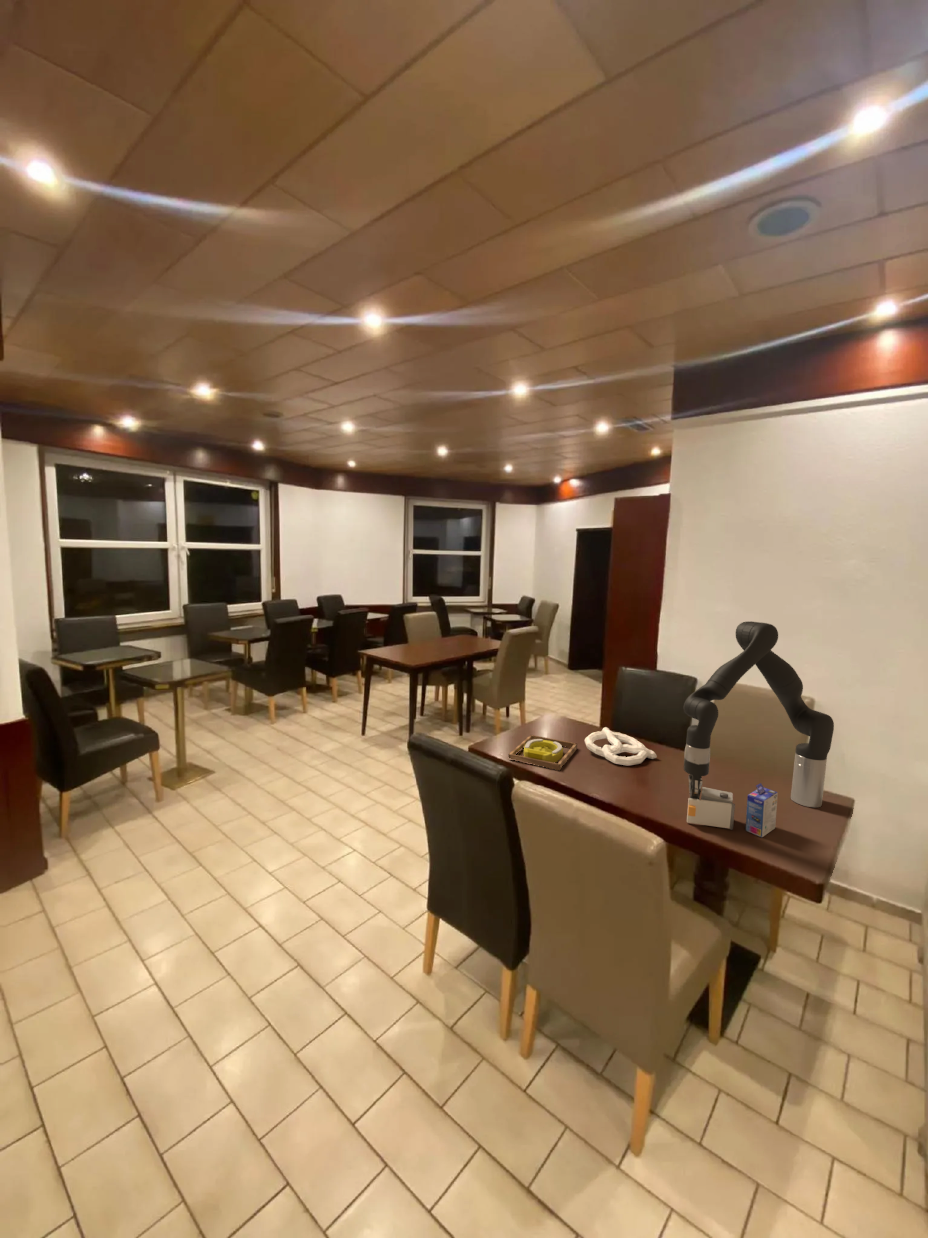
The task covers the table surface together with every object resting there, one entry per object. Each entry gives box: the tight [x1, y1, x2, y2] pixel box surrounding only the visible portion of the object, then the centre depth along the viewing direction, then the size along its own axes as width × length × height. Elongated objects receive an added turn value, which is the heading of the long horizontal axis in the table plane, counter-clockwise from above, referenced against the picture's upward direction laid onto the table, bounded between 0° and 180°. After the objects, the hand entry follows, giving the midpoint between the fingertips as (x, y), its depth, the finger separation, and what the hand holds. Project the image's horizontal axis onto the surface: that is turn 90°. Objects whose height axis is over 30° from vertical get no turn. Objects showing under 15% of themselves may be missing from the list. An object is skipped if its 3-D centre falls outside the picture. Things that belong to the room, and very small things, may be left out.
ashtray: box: [523, 739, 564, 763], centre depth 219 cm, size 16×21×5 cm
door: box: [686, 797, 736, 831], centre depth 162 cm, size 2×14×8 cm, turn 75°
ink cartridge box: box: [745, 782, 779, 838], centre depth 161 cm, size 10×6×14 cm, turn 127°
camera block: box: [700, 786, 734, 804], centre depth 167 cm, size 7×9×10 cm
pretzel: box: [584, 726, 658, 767], centre depth 222 cm, size 28×24×6 cm
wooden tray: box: [508, 734, 578, 771], centre depth 221 cm, size 27×22×2 cm
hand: (693, 808), depth 167 cm, fingers closed
